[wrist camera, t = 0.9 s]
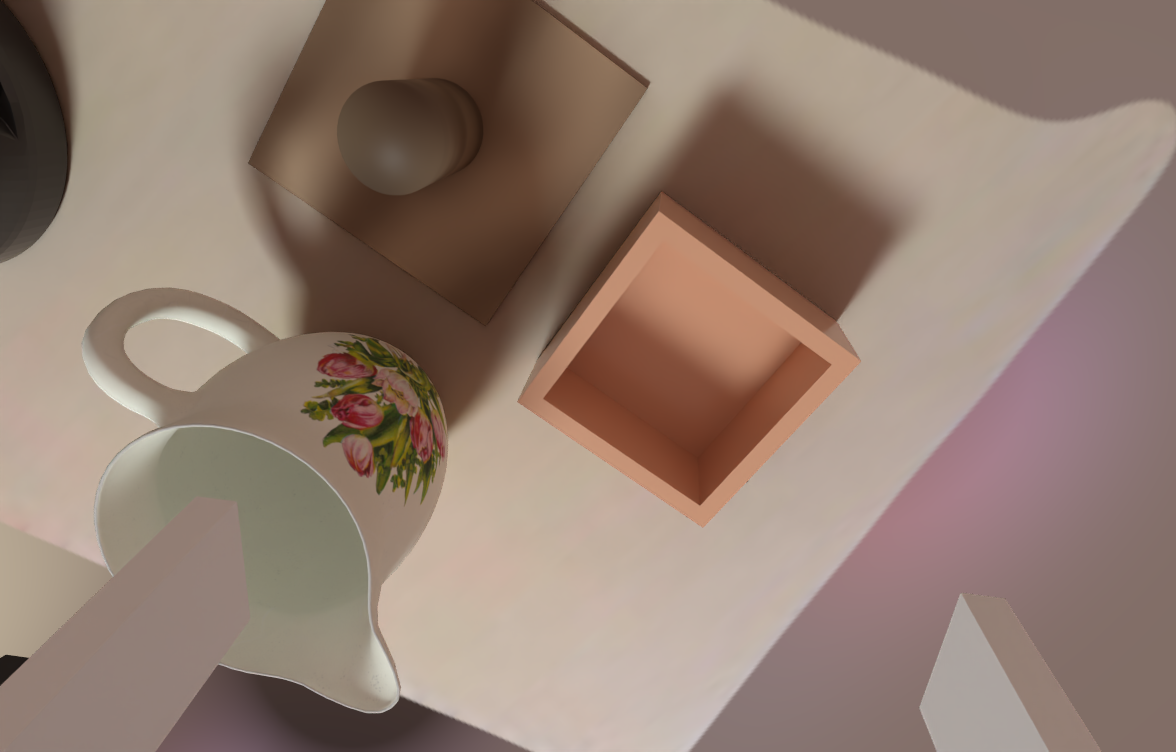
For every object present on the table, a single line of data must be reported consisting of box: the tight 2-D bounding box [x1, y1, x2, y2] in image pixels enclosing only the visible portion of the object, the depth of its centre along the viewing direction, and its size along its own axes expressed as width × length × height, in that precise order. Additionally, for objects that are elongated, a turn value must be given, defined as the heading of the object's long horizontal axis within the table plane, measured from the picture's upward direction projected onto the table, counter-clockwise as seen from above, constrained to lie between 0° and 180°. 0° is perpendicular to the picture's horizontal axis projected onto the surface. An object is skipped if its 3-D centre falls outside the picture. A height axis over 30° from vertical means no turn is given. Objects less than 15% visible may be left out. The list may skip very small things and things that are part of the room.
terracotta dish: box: [517, 191, 861, 527], centre depth 33 cm, size 10×10×5 cm
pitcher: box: [82, 288, 448, 713], centre depth 32 cm, size 11×18×14 cm, turn 42°
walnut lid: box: [248, 0, 648, 326], centre depth 31 cm, size 13×13×7 cm
